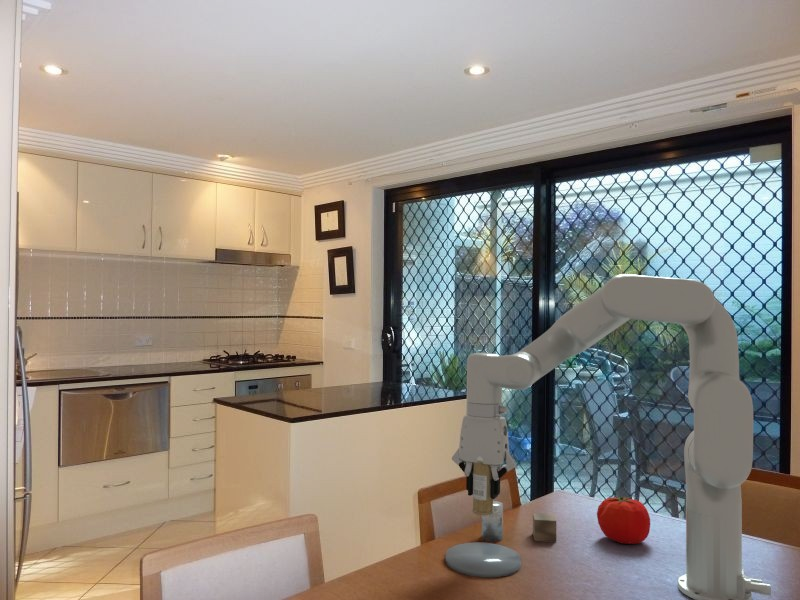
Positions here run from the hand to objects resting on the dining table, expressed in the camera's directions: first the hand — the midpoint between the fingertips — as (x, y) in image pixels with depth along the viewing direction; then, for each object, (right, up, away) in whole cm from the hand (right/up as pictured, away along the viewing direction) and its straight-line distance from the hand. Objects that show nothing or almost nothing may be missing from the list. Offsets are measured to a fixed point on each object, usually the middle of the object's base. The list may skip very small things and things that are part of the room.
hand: (482, 494), depth 131 cm
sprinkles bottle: (0, -4, 0) cm, 4 cm away
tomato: (+35, -15, +13) cm, 40 cm away
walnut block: (+17, -15, +14) cm, 27 cm away
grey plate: (0, -14, -1) cm, 14 cm away
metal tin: (+4, -15, +14) cm, 21 cm away
